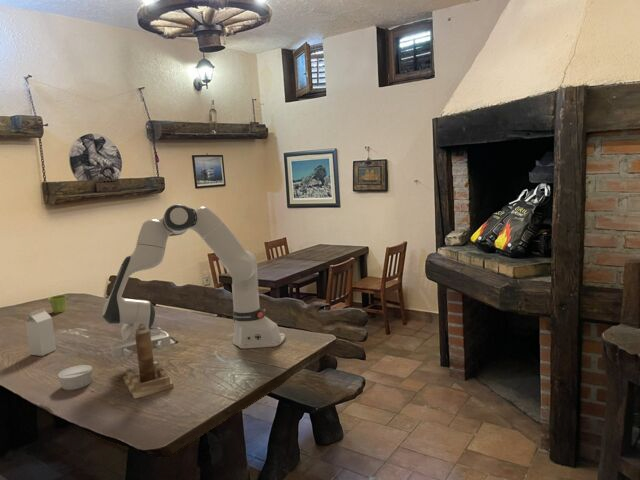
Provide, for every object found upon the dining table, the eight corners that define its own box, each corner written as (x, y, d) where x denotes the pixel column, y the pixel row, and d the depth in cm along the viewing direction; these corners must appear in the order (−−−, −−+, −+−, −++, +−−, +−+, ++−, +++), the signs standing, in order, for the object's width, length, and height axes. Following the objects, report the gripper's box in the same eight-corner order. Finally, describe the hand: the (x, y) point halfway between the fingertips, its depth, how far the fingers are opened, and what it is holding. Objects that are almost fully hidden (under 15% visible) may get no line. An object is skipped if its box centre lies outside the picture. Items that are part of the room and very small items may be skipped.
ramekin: (70, 394, 161) (68, 380, 160) (53, 388, 167) (51, 374, 166) (100, 381, 171) (98, 367, 170) (82, 376, 176) (81, 362, 176)
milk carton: (56, 350, 206) (50, 308, 204) (42, 356, 200) (35, 313, 197) (44, 349, 209) (38, 308, 206) (30, 355, 202) (23, 312, 199)
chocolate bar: (164, 332, 221) (178, 341, 207) (164, 333, 221) (178, 343, 207) (144, 336, 216) (157, 346, 201) (145, 338, 216) (158, 348, 202)
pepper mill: (157, 376, 168) (151, 321, 165) (150, 382, 163) (144, 325, 160) (145, 376, 168) (139, 321, 166) (137, 382, 164) (131, 325, 161)
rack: (124, 380, 170) (122, 370, 169) (160, 370, 177) (159, 360, 176) (134, 398, 155) (132, 387, 154) (173, 387, 162) (172, 376, 161)
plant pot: (57, 309, 277) (55, 295, 275) (72, 309, 275) (70, 294, 274) (46, 314, 267) (44, 299, 266) (61, 314, 266) (59, 299, 265)
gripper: (106, 338, 169) (111, 349, 158) (164, 326, 180) (173, 335, 168) (108, 354, 170) (113, 367, 159) (166, 341, 181) (174, 352, 169)
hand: (144, 350), depth 163 cm, fingers open, 8 cm apart
